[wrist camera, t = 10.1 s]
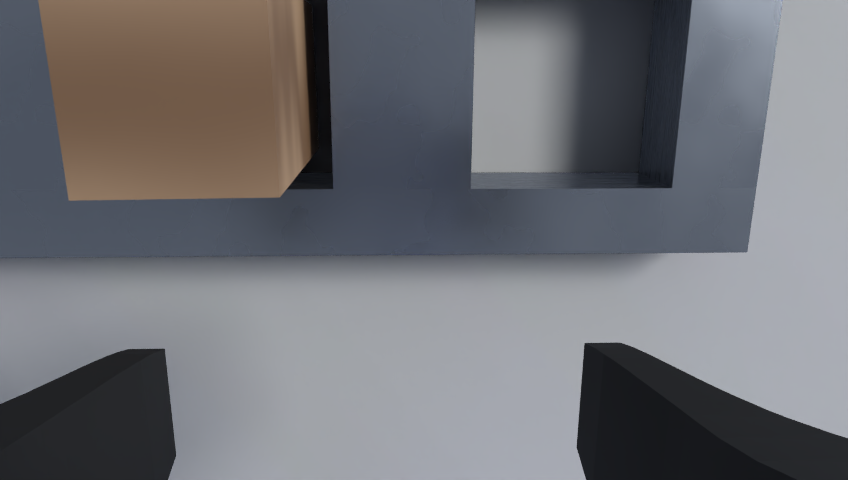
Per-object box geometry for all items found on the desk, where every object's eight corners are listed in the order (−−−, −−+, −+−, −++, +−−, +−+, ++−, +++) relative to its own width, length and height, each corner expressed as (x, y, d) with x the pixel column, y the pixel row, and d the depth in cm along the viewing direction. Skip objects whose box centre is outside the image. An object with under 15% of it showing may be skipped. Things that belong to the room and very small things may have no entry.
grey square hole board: (705, 229, 21) (747, 252, 18) (-229, 234, 20) (-317, 260, 17) (745, -87, 18) (797, -108, 16) (-320, -103, 17) (-436, -129, 15)
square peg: (319, 148, 20) (279, 197, 13) (181, 150, 19) (69, 200, 13) (312, 4, 19) (265, -25, 12) (166, 5, 18) (34, -23, 12)
